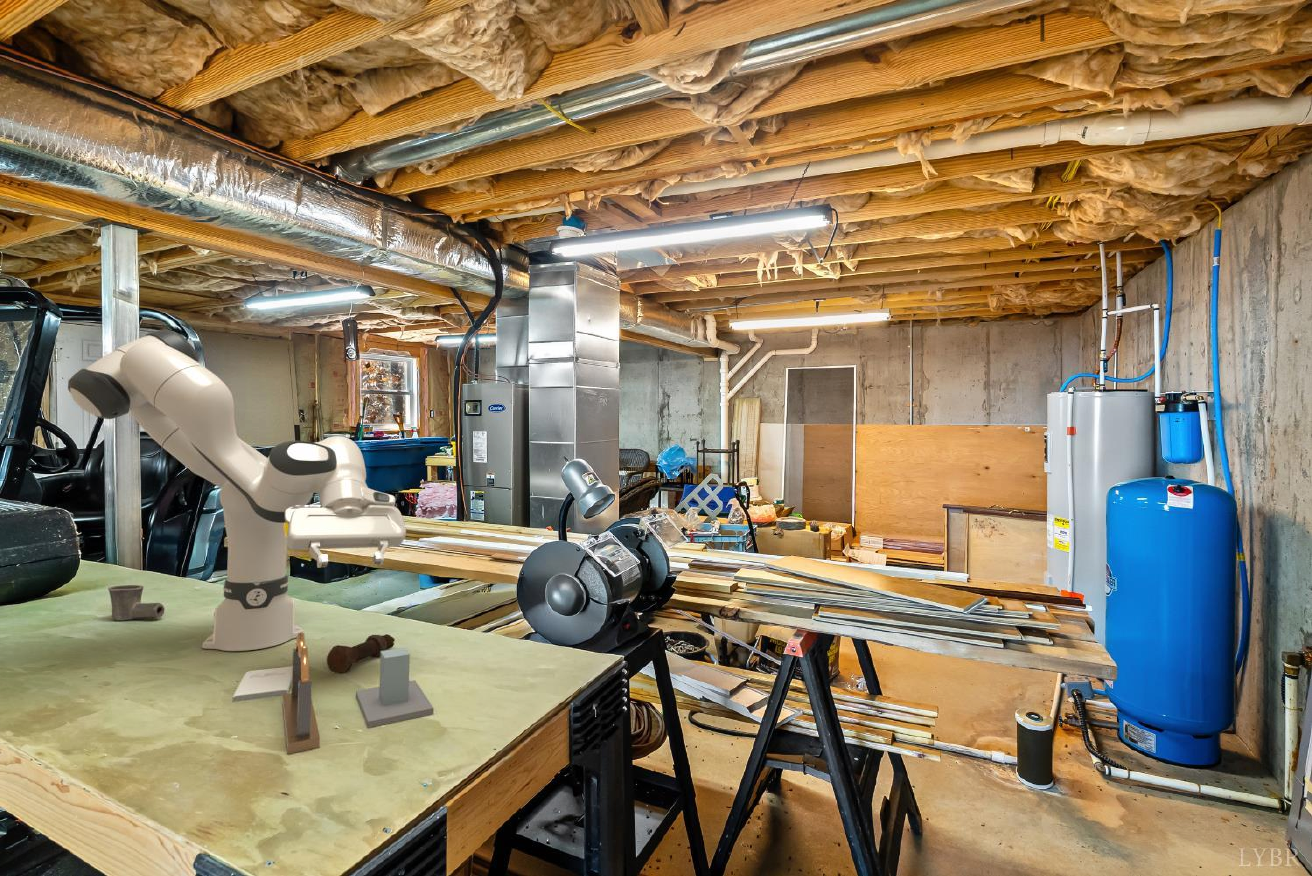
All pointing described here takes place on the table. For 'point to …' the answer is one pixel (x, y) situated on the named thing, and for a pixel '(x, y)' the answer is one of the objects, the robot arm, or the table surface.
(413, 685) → the pad
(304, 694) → the wire frame
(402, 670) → the block
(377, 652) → the bolt
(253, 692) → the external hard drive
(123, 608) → the pipe
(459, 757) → the table surface
